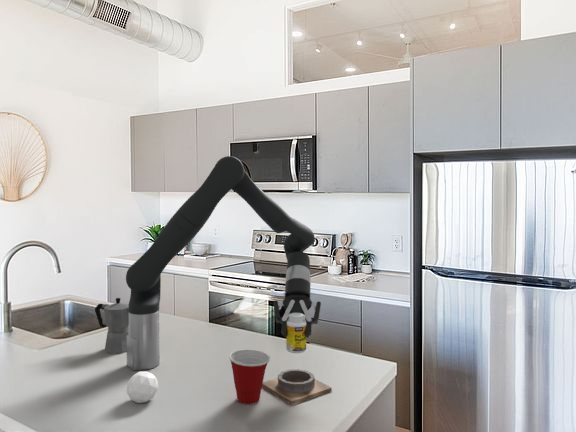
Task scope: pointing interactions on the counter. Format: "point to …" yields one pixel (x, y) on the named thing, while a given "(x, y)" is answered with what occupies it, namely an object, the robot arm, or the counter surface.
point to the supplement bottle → (296, 333)
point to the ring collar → (296, 386)
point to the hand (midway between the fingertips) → (296, 335)
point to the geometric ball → (142, 387)
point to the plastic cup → (248, 373)
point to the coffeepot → (115, 325)
